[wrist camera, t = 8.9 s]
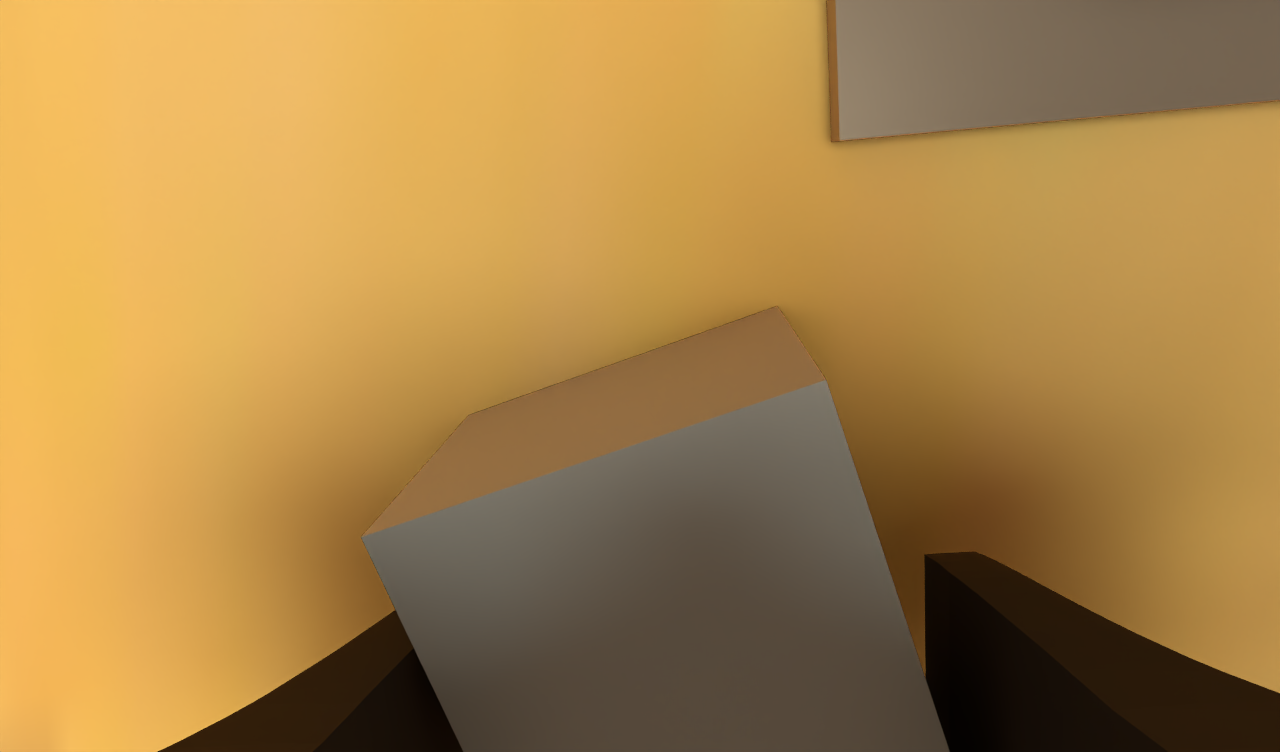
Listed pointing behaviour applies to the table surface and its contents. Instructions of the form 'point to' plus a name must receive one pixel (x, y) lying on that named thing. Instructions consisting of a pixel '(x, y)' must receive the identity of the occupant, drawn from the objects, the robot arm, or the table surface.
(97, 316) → the table surface
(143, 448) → the table surface
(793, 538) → the grey brick
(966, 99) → the baseplate
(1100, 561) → the table surface
